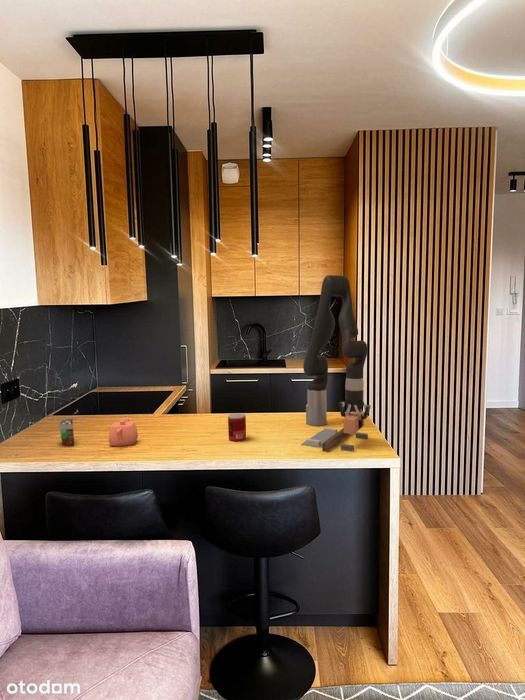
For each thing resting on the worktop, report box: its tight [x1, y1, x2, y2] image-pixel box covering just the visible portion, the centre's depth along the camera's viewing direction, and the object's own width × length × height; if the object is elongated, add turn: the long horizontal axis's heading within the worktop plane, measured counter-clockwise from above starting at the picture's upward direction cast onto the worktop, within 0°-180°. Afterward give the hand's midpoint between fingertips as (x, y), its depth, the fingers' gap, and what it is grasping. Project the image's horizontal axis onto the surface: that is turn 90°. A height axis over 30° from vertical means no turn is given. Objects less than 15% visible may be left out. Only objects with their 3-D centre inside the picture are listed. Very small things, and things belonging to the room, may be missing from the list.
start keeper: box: [340, 431, 369, 452], centre depth 218 cm, size 5×20×2 cm, turn 150°
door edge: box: [321, 427, 351, 453], centre depth 222 cm, size 2×30×4 cm, turn 151°
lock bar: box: [343, 411, 365, 435], centre depth 218 cm, size 4×14×6 cm, turn 152°
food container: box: [57, 417, 75, 447], centre depth 228 cm, size 12×6×10 cm, turn 21°
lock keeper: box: [300, 427, 338, 449], centre depth 226 cm, size 10×22×2 cm, turn 150°
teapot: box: [108, 416, 139, 447], centre depth 227 cm, size 12×18×10 cm, turn 1°
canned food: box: [227, 412, 247, 443], centre depth 228 cm, size 8×8×11 cm
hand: (354, 427), depth 218 cm, fingers closed on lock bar, 4 cm apart
